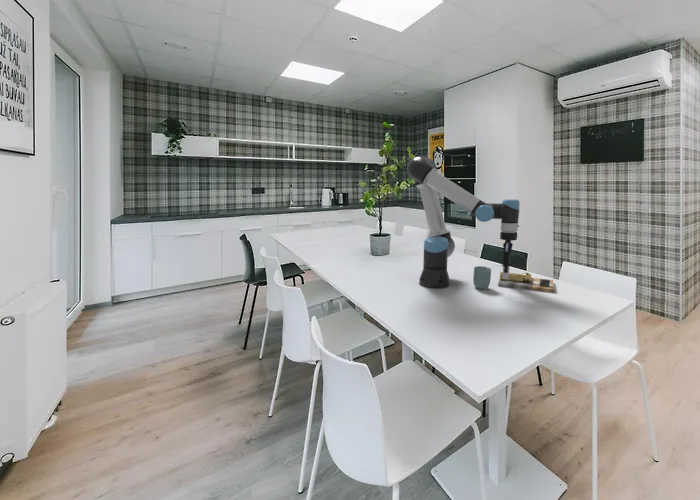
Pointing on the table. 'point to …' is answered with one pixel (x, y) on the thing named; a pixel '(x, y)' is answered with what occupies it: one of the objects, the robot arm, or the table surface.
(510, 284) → the door board
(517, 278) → the latch arm
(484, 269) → the cup
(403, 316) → the table surface
